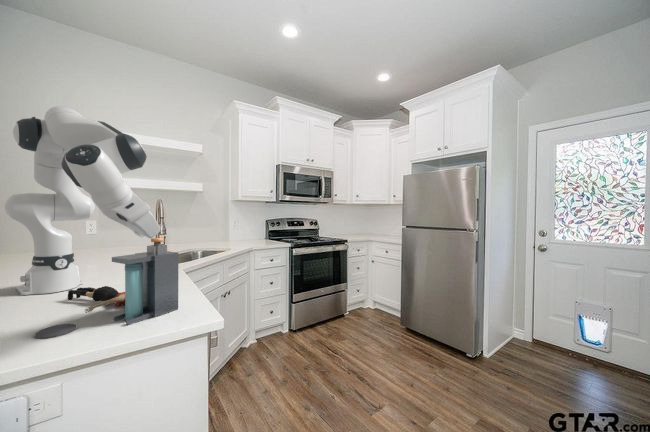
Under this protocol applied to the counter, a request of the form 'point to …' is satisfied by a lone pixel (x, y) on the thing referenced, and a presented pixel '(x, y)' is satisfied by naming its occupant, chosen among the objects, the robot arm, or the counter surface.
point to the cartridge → (133, 290)
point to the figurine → (99, 296)
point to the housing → (155, 281)
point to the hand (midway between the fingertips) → (141, 234)
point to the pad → (55, 331)
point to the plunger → (157, 241)
